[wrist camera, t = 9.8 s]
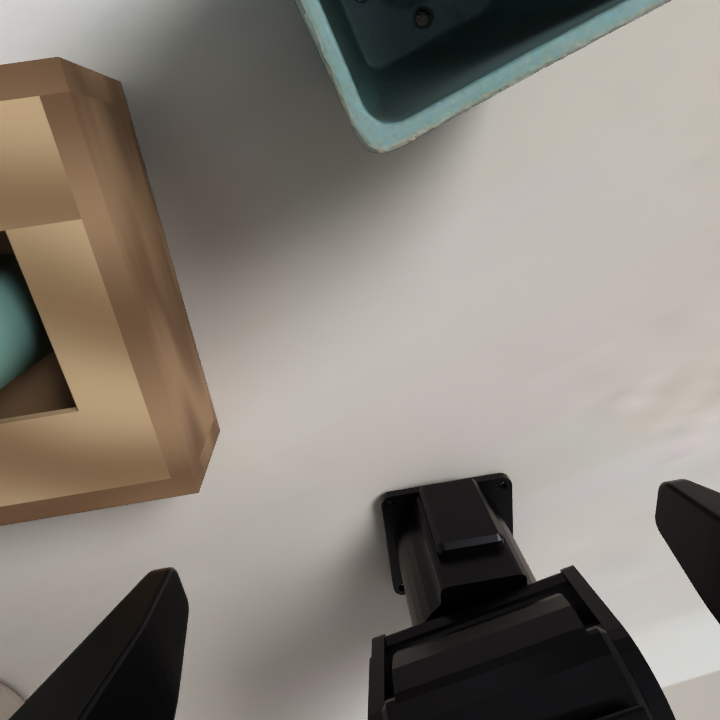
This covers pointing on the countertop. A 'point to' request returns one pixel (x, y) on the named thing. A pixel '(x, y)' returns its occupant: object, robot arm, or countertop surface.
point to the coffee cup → (8, 702)
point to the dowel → (18, 324)
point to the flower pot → (445, 54)
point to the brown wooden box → (92, 308)
